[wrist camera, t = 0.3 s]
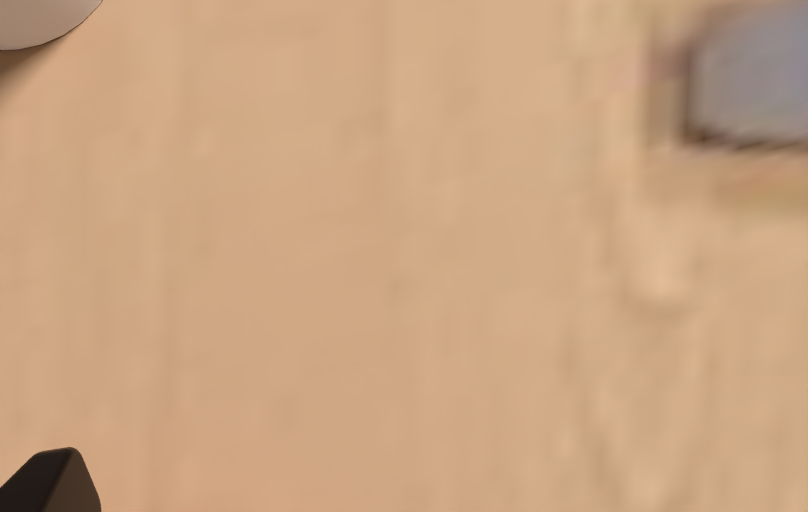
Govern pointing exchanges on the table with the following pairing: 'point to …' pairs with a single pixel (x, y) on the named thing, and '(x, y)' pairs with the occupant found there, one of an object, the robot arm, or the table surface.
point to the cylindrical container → (40, 20)
